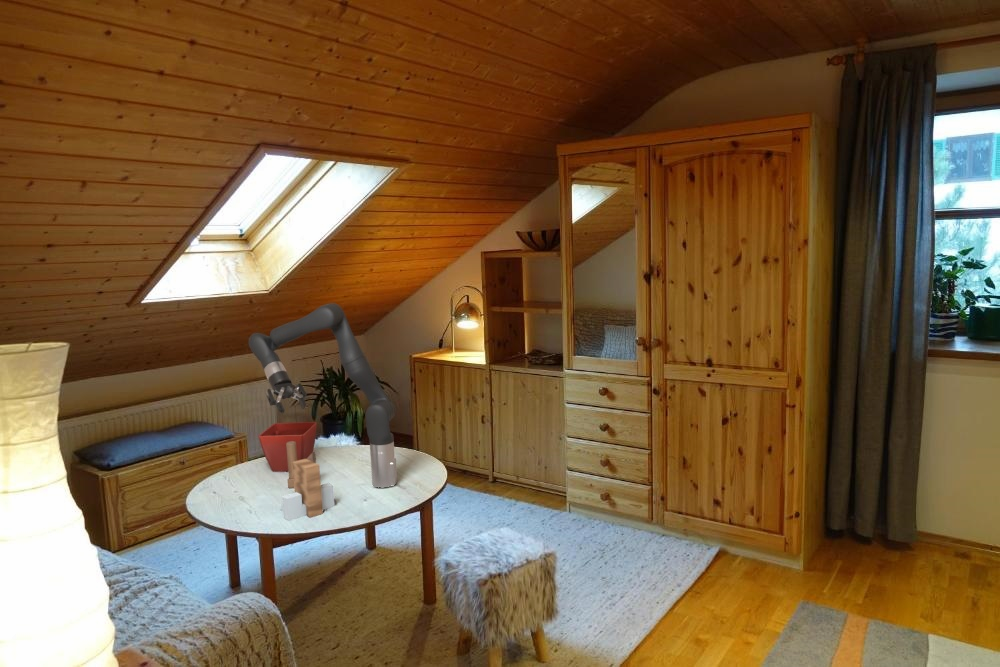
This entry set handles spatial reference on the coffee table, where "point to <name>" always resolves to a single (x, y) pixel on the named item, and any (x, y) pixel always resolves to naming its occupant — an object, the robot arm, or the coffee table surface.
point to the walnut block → (308, 485)
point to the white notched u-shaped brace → (297, 509)
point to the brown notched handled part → (292, 458)
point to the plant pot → (282, 433)
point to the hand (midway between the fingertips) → (293, 409)
